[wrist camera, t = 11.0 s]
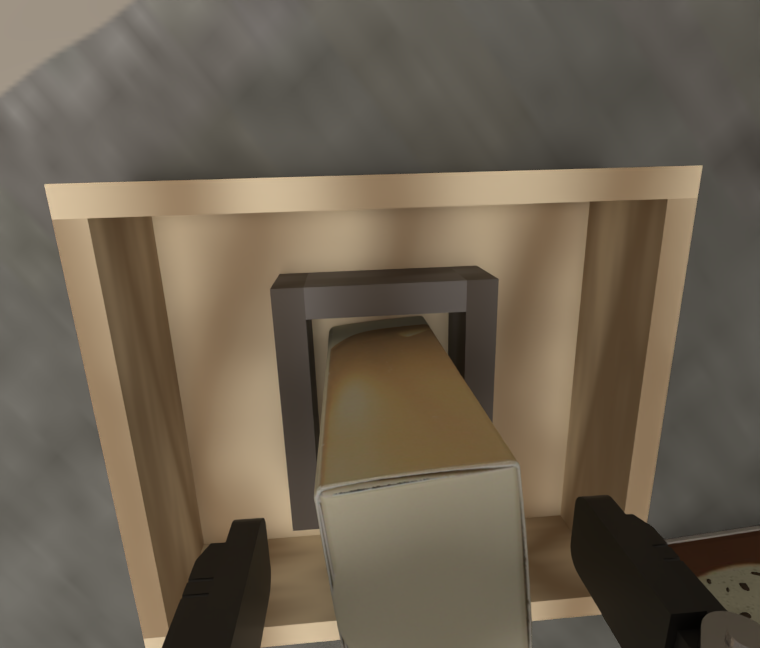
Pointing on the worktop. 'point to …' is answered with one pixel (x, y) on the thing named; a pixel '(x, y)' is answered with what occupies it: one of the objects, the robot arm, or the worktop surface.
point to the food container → (726, 566)
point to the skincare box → (416, 498)
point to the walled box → (356, 305)
